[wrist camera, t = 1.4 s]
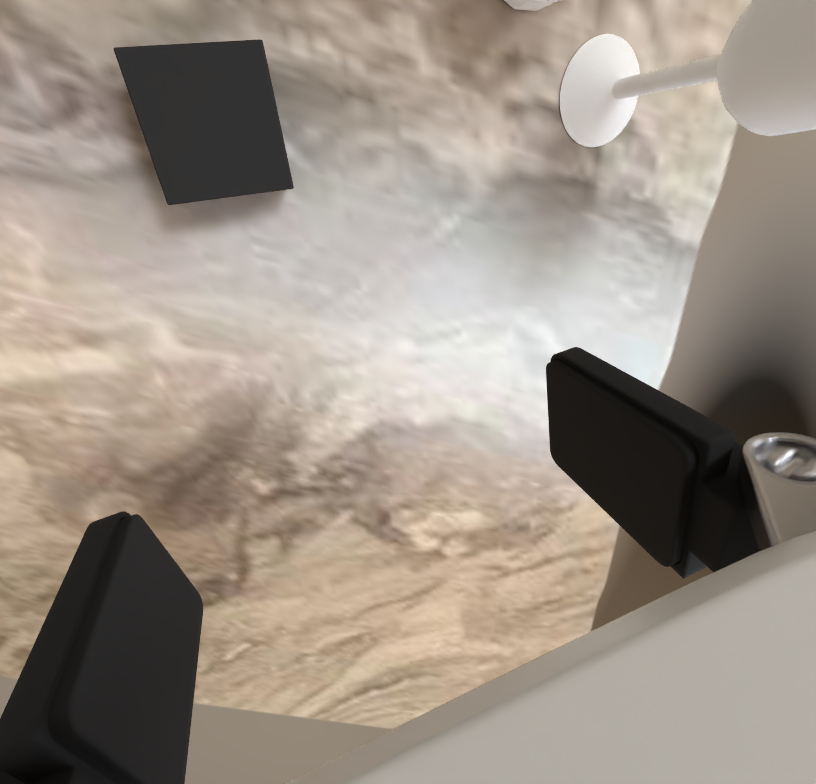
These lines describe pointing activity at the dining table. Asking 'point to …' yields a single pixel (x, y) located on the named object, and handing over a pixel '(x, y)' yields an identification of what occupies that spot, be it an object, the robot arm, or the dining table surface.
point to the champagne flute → (704, 76)
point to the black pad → (207, 118)
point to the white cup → (529, 4)
